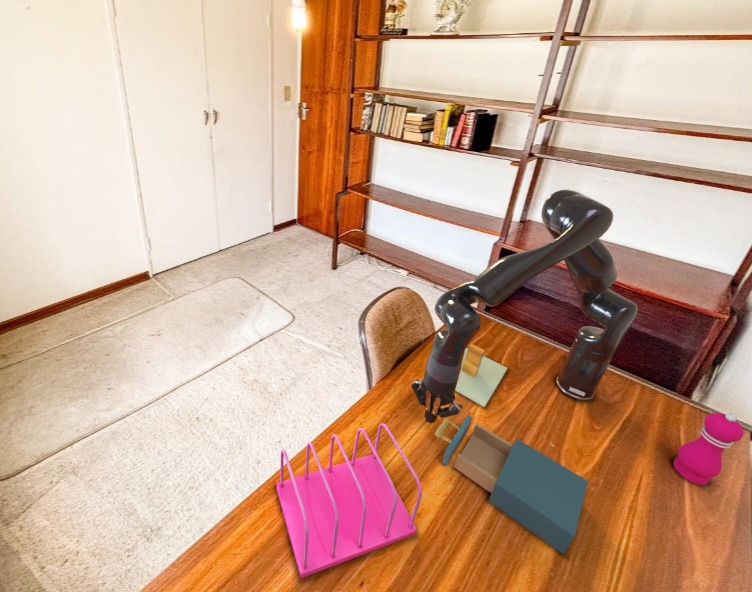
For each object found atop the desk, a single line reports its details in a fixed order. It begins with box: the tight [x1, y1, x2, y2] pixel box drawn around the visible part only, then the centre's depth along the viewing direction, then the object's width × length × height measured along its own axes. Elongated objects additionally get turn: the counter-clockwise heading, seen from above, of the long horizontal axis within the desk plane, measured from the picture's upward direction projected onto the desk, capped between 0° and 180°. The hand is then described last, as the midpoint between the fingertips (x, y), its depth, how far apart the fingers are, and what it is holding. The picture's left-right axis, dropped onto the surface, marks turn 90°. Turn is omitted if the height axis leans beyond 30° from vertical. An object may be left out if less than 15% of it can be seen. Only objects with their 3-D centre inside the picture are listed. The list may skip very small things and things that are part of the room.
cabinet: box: [488, 438, 589, 555], centre depth 86 cm, size 15×15×7 cm
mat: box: [455, 347, 508, 408], centre depth 121 cm, size 20×16×1 cm
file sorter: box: [276, 422, 423, 579], centre depth 81 cm, size 17×25×16 cm
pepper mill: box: [672, 412, 744, 486], centre depth 90 cm, size 7×7×20 cm
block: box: [462, 343, 486, 378], centre depth 119 cm, size 3×4×9 cm
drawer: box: [434, 414, 514, 494], centre depth 95 cm, size 18×13×5 cm
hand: (429, 420), depth 102 cm, fingers closed
